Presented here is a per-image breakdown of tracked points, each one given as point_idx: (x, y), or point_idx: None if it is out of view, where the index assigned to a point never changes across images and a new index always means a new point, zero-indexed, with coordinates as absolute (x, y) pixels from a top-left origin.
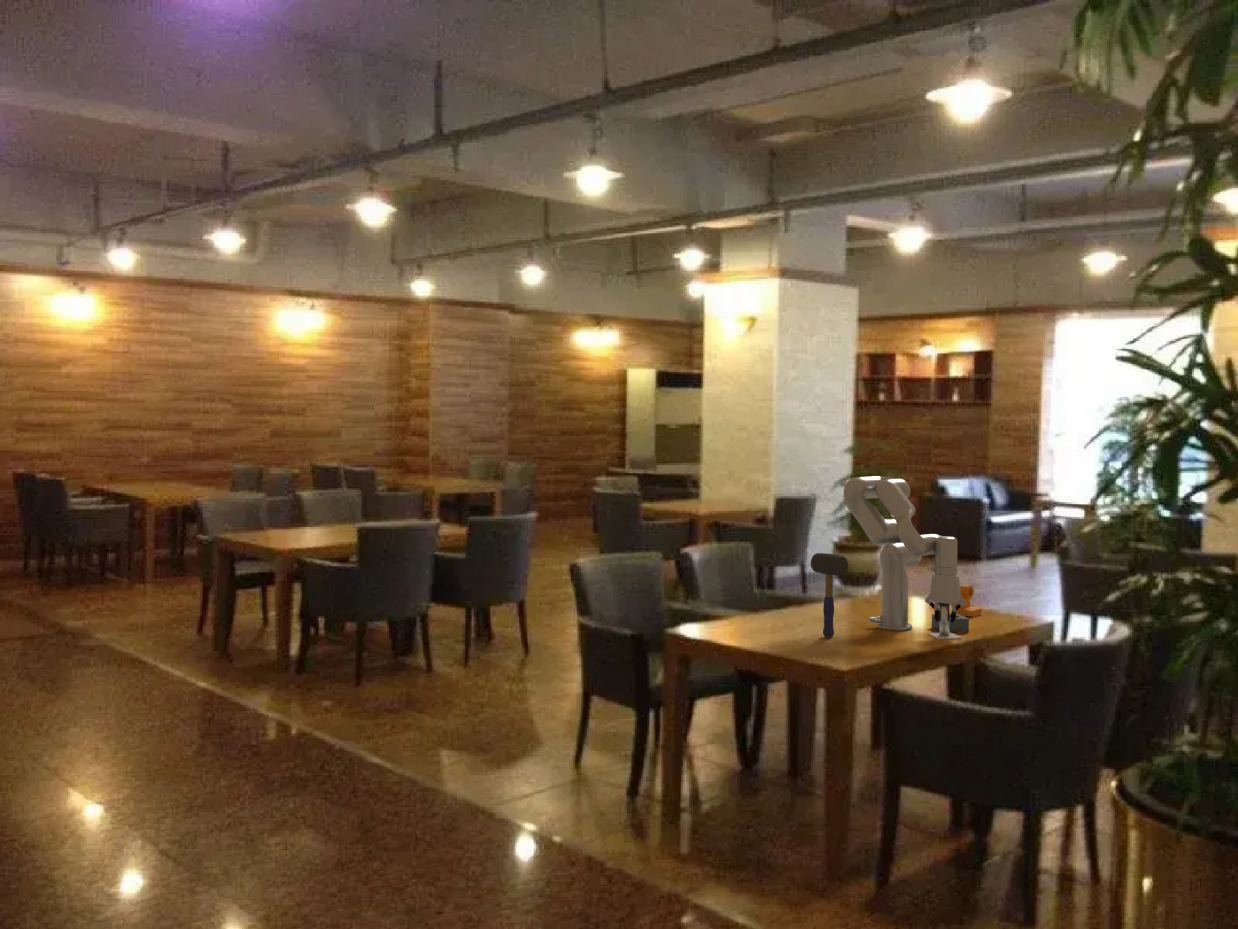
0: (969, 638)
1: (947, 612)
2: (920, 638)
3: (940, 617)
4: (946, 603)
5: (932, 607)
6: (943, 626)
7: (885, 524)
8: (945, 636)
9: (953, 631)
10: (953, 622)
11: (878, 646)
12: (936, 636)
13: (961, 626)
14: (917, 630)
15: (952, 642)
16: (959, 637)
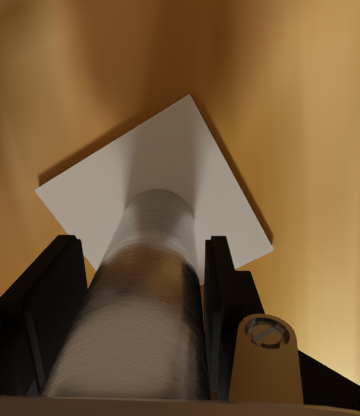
0: (4, 227)
1: (84, 307)
2: (319, 85)
3: (183, 265)
4: (10, 398)
5: (321, 370)
6: (155, 214)
7: None
8: (145, 179)
9: None
10: None
11: None
12: (206, 154)
13: None
14: (338, 340)
15: (65, 24)
16: (49, 183)
